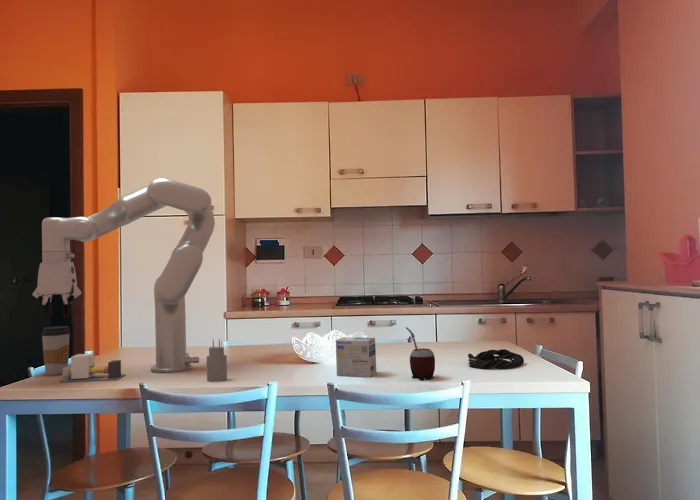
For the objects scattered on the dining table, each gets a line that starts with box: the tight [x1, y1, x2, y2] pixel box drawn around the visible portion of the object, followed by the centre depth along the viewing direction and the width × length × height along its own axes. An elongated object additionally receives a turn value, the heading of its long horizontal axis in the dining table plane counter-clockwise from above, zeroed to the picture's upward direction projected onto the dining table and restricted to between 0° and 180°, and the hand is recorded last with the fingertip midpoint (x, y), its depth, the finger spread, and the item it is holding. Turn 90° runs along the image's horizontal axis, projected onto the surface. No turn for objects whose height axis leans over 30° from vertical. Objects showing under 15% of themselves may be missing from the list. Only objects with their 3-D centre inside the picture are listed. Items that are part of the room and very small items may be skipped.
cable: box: [467, 348, 525, 370], centre depth 168 cm, size 17×14×4 cm
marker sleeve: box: [70, 353, 96, 379], centre depth 165 cm, size 5×5×7 cm
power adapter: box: [206, 339, 228, 383], centre depth 158 cm, size 3×5×12 cm, turn 86°
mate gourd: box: [405, 326, 436, 382], centre depth 152 cm, size 8×8×15 cm
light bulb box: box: [335, 336, 377, 378], centre depth 160 cm, size 11×7×11 cm, turn 71°
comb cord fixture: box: [59, 359, 127, 383], centre depth 165 cm, size 17×7×5 cm, turn 92°
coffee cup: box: [41, 325, 71, 376], centre depth 175 cm, size 8×8×15 cm
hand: (57, 316), depth 165 cm, fingers open, 4 cm apart
